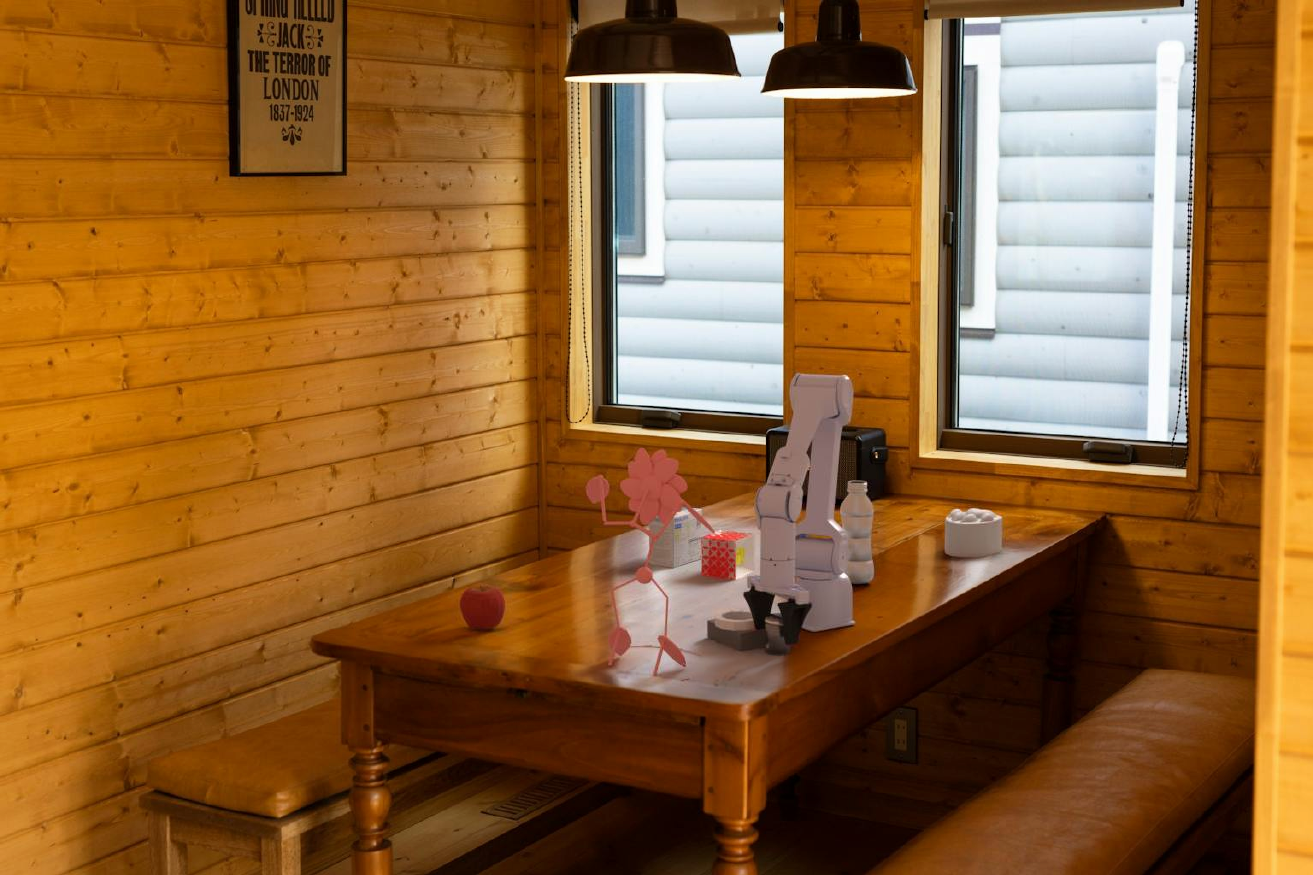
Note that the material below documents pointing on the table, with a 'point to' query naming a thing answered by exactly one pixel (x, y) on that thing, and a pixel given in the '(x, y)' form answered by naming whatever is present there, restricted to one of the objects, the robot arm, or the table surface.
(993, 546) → the lumpy-topped squat cylinder
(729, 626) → the camera body
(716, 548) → the red patterned gift box
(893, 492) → the table surface
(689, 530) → the light bulb box
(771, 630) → the lens
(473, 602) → the apple
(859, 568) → the plastic bottle
